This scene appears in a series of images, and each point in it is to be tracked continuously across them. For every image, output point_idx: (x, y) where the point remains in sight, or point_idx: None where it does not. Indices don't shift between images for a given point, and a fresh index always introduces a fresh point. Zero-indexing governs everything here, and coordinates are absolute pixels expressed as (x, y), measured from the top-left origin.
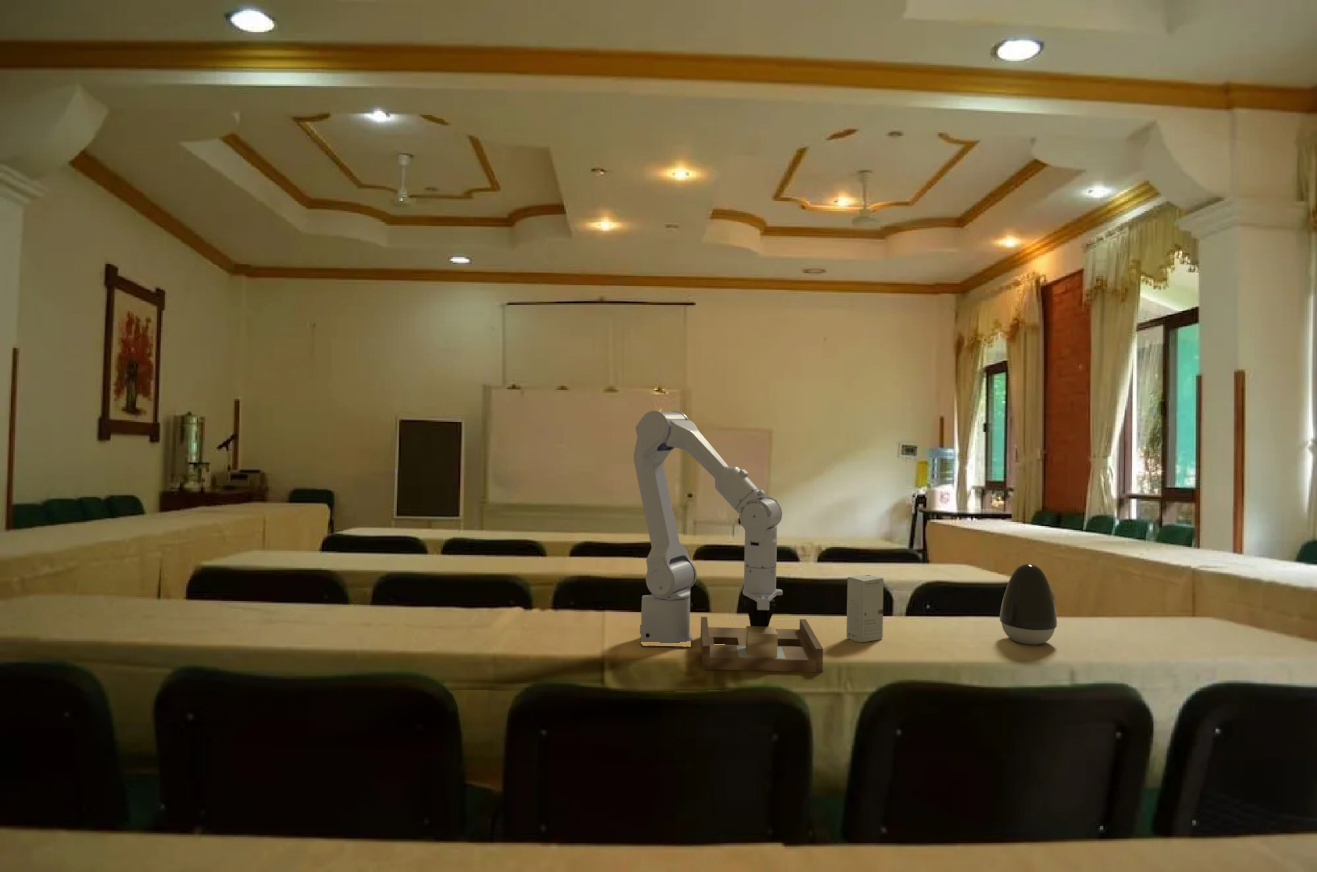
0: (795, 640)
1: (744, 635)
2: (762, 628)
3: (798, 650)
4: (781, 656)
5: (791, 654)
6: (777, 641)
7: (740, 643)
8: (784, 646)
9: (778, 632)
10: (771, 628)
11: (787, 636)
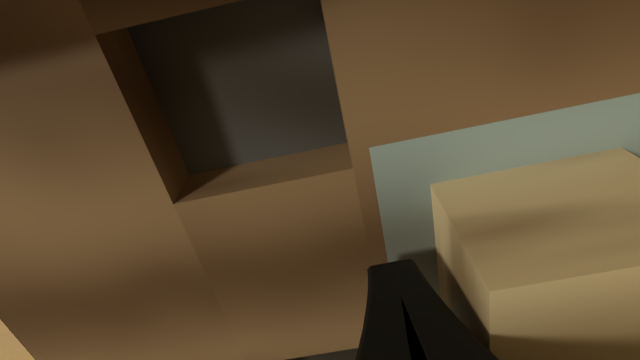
0: (116, 63)
1: (192, 346)
2: (557, 357)
3: (437, 14)
4: (601, 123)
5: (551, 60)
6: (171, 179)
7: (353, 341)
8: (350, 127)
9: (5, 199)
10: (562, 304)
11: (71, 132)
